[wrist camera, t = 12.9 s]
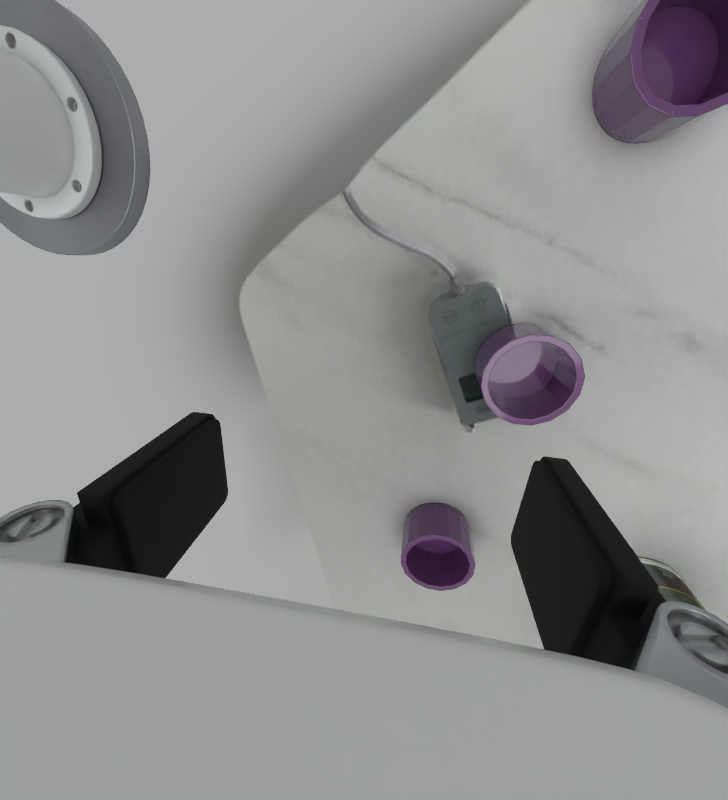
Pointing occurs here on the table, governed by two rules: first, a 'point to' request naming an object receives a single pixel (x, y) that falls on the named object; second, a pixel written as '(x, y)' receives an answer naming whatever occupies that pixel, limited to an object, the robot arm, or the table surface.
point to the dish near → (663, 69)
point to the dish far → (437, 547)
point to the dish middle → (528, 374)
